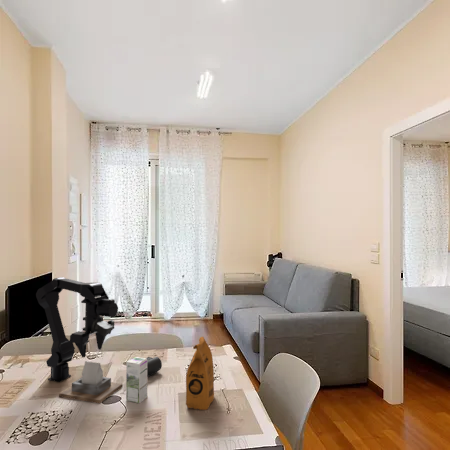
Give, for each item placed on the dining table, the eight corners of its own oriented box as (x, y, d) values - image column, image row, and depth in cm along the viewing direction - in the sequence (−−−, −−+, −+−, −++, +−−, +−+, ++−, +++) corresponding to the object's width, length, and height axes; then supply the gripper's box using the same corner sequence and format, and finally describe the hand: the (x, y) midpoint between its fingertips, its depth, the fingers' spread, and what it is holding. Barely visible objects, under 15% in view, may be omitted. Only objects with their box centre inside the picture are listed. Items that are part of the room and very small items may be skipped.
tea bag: (96, 391, 130) (96, 365, 130) (81, 389, 132) (81, 363, 132) (102, 387, 133) (102, 361, 134) (88, 385, 135) (88, 359, 136)
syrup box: (147, 396, 128) (148, 357, 129) (139, 404, 123) (139, 363, 123) (134, 394, 130) (135, 355, 131) (125, 401, 125) (125, 361, 125)
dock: (59, 396, 129) (59, 385, 129) (84, 381, 142) (84, 370, 142) (99, 403, 123) (99, 391, 123) (122, 386, 136) (122, 376, 137)
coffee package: (181, 409, 119) (181, 345, 120) (192, 392, 131) (192, 335, 132) (208, 412, 117) (208, 347, 118) (217, 395, 129) (217, 336, 130)
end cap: (145, 381, 142) (145, 365, 142) (133, 377, 145) (133, 361, 145) (162, 373, 150) (162, 357, 150) (150, 369, 154) (150, 354, 154)
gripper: (93, 322, 127) (92, 364, 127) (123, 311, 145) (122, 348, 145) (69, 319, 131) (68, 360, 131) (102, 309, 149) (101, 345, 148)
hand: (91, 353), depth 139 cm, fingers open, 9 cm apart
